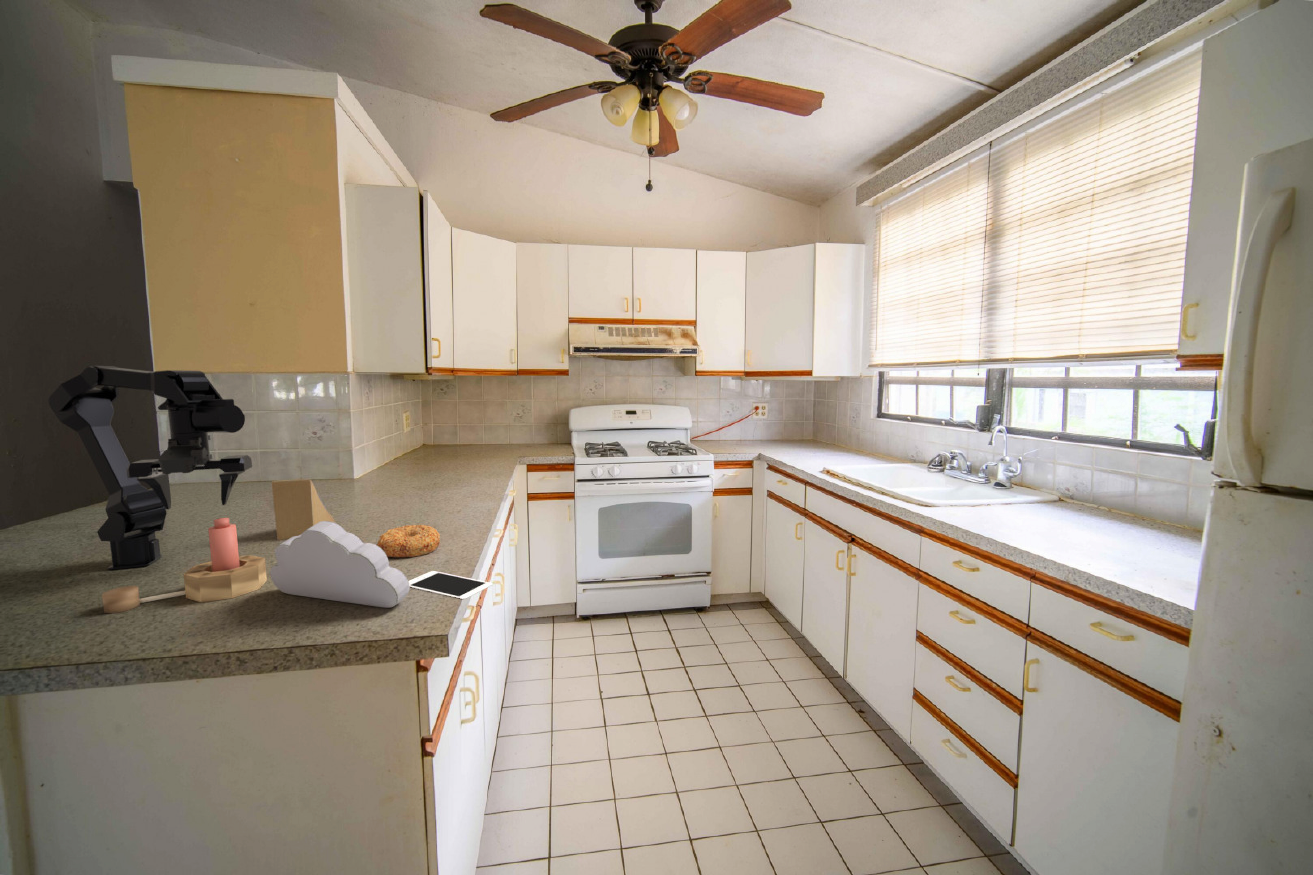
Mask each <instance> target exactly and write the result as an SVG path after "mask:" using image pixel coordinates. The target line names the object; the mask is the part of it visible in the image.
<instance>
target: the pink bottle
mask: <svg viewBox="0 0 1313 875" xmlns="http://www.w3.org/2000/svg"><path fill="white" fill-rule="evenodd" d="M230 522H231V521H230V518H229V517H221V518H215V519H213V525H214V526H210V527H208V539H209V540H208V541H209V551H210V560H211V562H212V572H218V571H227V570H231V569H235V568H238V567H240V564H239V556H240V555H239V544H238V535H237V533H238V532H237V531H238V530H237V524H234V523H230Z"/></svg>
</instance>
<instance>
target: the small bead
mask: <svg viewBox="0 0 1313 875" xmlns="http://www.w3.org/2000/svg"><path fill="white" fill-rule="evenodd" d="M101 599H102V604H103V605H102V606H103V612H104V614H105V613H106V614H117V613H121V612H126V611H129V610H132V609H135V608H137V607H139V606H140V605H141V603H140V599H141V598H140V592H139V586H137V585H129V586H128V585H127V586H121V587H116V588H112V589H110V590H107V591H105V592H103V593H102V594H101Z"/></svg>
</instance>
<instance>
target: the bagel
mask: <svg viewBox="0 0 1313 875" xmlns="http://www.w3.org/2000/svg"><path fill="white" fill-rule="evenodd" d="M440 536H441V534H440V533H439V532H438V530H437V528H434V527H433V526H430V525H426V524H424V525H423V524H411V525H409V524H407V525H403V526H402V525H401V526H398V527H394V528H391V529H390V528H389V529H388V530H386V532H384V533H383V534H381V535H379V539H378V541H377V544H375V545H377V546H379V547H380V548H381V549H382V550H383V551H384V552H385V553H386V556H387V558H397V559H398V558H413V557H415V558H416V557H420V556H421V557H422V556H425V555H428V554H430V553H432V552H433V553H434V552H435V551H436V549H438V547H440V541H441V539H440V538H441V537H440Z"/></svg>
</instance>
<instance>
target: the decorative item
mask: <svg viewBox="0 0 1313 875" xmlns="http://www.w3.org/2000/svg"><path fill="white" fill-rule="evenodd" d="M274 556H275V560H276V562H277V563H275V564H274V565H272V566H271V567H270V570H269V576H270V580H271V581H272V583H273V585H274V586H275V587H276V588H277V590H279V591H281V592H282V593H284V594H288V595H294V596H301V597H307V598H314V599H321V600H322V599H323V600H328V601H329V600H330V601H335V602H342V603H348V604H349V603H350V604H357V605H363V606H370V607H377V608H386V609H387V608H393V607H395V606H396V605H398V604H400V602H402V600H403V599H404V598H405V597H407V595H408V594H409V592H410V589H411V588H410V586H409V582H408V581H409V579H408V577H407V576H406V574H404V572H403V571H401V570H400V569H399V568H395V567H392V566H390V562H389V557H387V556H386V553H385V552H384V551H383V550H382V549H381V548H380V547H379V546H377V545H376V544H374V543H371V542H368V543H367V542H364V541H362V540H361V538H359V536H357V535H356V534H354V533H351V532H348V531H347V530H345V528H344V527H342V526H341V524H340V525H339V524H338V523H337V522H336V521H335V522H331V521H321V522H319V523H317V524H315V525H314V526H312V527H310V528H309V529H307V530H306V531H304V532H303V533H302V534H301V535H299V536H294V537H292V538H290V539H287V540H285V541H283V542H282V543H280V544H279V545H278V546H276V548H275V550H274Z"/></svg>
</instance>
